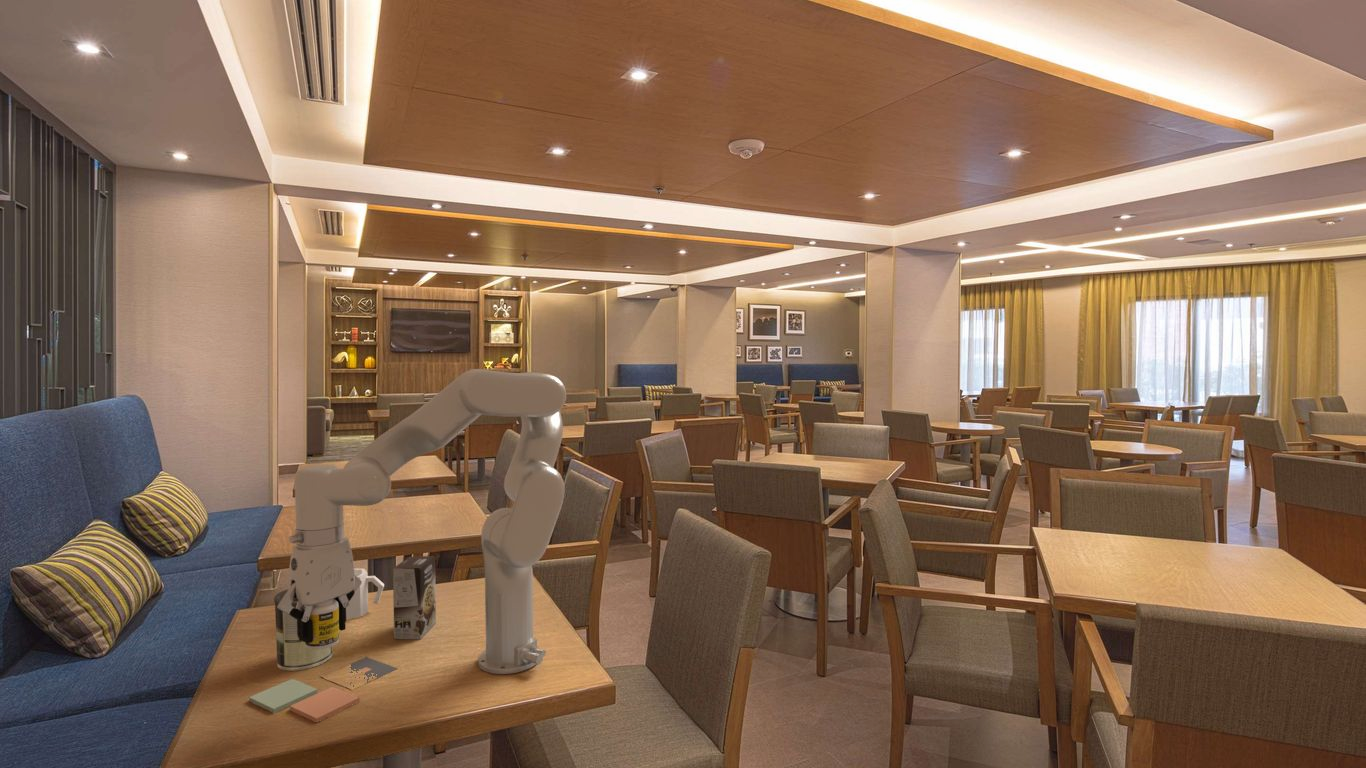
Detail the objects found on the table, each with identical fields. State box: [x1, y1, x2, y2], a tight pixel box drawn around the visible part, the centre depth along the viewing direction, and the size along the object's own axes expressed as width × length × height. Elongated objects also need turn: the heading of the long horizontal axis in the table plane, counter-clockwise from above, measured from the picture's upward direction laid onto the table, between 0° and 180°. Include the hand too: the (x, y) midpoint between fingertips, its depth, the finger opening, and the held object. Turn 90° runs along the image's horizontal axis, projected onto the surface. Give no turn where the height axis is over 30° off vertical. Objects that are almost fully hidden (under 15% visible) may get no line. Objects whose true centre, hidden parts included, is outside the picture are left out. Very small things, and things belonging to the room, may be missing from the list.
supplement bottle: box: [305, 599, 340, 650], centre depth 123 cm, size 5×5×10 cm
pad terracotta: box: [289, 686, 360, 723], centre depth 123 cm, size 8×8×1 cm
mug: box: [346, 567, 385, 621], centre depth 166 cm, size 12×9×10 cm
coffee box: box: [392, 555, 437, 640], centre depth 155 cm, size 9×6×16 cm
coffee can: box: [273, 588, 334, 672], centre depth 141 cm, size 10×10×14 cm
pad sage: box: [248, 678, 318, 714], centre depth 127 cm, size 8×8×1 cm
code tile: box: [350, 656, 399, 687], centre depth 136 cm, size 10×10×1 cm
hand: (322, 633), depth 123 cm, fingers closed on supplement bottle, 5 cm apart
